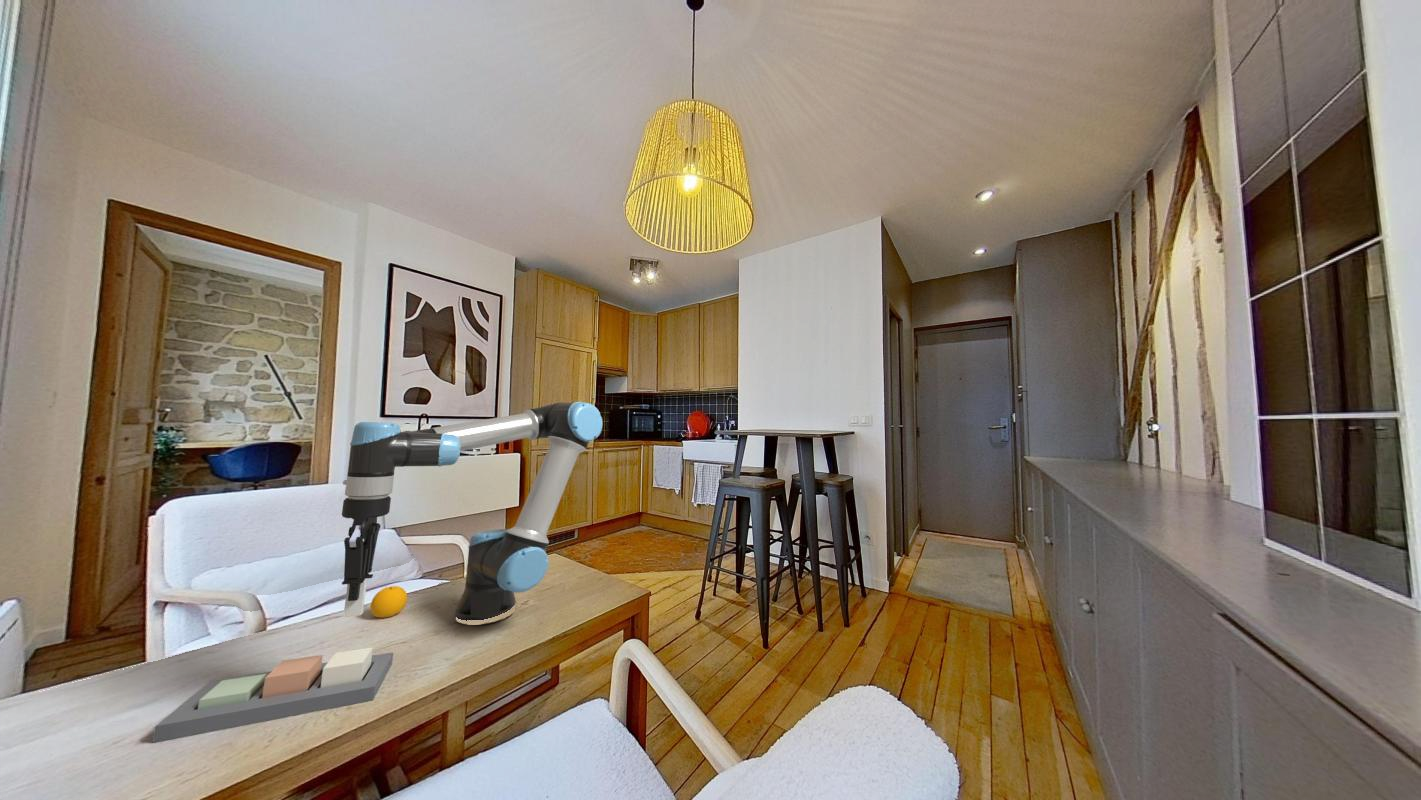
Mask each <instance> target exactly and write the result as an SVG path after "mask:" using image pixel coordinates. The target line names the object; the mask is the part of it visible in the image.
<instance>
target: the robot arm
mask: <svg viewBox="0 0 1421 800" xmlns="http://www.w3.org/2000/svg"><path fill="white" fill-rule="evenodd" d="M400 427H401V426H400V425H399V424H398V423H395V422H394V423H393V422H372V421H360V422H358V423H357V424H355V425H354V428H353V431H352V432H353V433H352V437H351V441H350V443H349V444H350V449H349V459H348V464H347V465H348V466H347V474H346V476H347V477H346V479H345V480H343V482H342V484H343V485H344V486H345V490H344V496H346V497H345V499H344V500H343V502H342V509H341V516H342V518H344V519H352V520H353V521H352V524H351V526H349V528H348V534H347V535H348V537H345V539H344V540H343V544H344V549H345V551H344V567H343V568H344V571H343V581H342V582H341V585H343V586H344V585H347V586H346V594H345V602H344V611H343V618H348V617H349V618H350V617H358V616H361V615H362V614H364V607H365V599H366V594H367V593H366V591H367V583H368V579H372V578H373V577H374V573H371V572H372V571H373V564H374V557H375V553H376V547H377V542H378V537H379V532H380V529H381V527H382V526H381V523H379V522H378V518H380V517H384V516H387V515H388V514H389V513H390V509H391V500H392V498H391V496H389V495H391V494H392V493H393V488H394V478H395V468H396V467H398V468H400V467H402V468H403V467H440V468H441V467H443V466H453V465H455V464H456V463H457V461H458V460H459V458H460V455H461V452H463V451H469V450H474V449H479V448H483V447H489V446H493V445H497V444H498V445H499V444H503V443H508V442H513V441H517V440H522V439H528V440H529V441H530V440H531V441H534V440H538V439H547V441H548V443H549V447H548V449H547V452H546V454H545V457H544V459H543V461H542V463H541V465H540V468H539V471H538V472H537V474H536V477H535V479H534V481H533V484H532V486H531V488H530V491H529V493H528V496H527V497H526V500H525V502H524V505H523V507H522V509H521V511H520V513H519V516H518V518H517V521H516V523H515V524H514V526H513V527H511V528H502V529H499V528H498V529H493V530H492V529H491V530H483V531H479V532H476V533H474V534H473V535H471V536H470V539H469V545H468V555H467V566H466V567H467V568H466V578H465V587H464V591H463V592H462V595H461V596H460V600H459V601H458V604H457V606H456V609H455V614H454V617H455V616H456V617H457V618H458V619H461V620H466V621H467V620H484V619H488V618H492V617H495V616H498V615H500V614H502V613H505V612H507V611H508V610H510V609H511V608H512V607H513V606H514V605H515V603H516V604H517V600H516V596H515V593H516V594H517V593H519V594H520V593H524V592H527V591H529V590H531V589H533V587H535V586H537V585H538V584H539V583H540V582H542V580H543V579H544V577H545V575H546V574H547V572H548V568H549V563H550V562H549V561H550V560H549V559H548V558H549V557H548V554H547V552H546V551H547V549H548V546H549V543H550V540H549V539H548V535H547V534H548V532H549V528H550V526H551V524H552V522H553V519H554V516H555V515H556V511H557V509H558V506H559V504H560V501H561V498H562V496H563V494H564V491H565V489H566V486H567V484H568V481H569V479H570V477H571V474H572V472H573V469H574V466H575V464H576V461H577V460H578V457H579V455H580V454H582V453H584V452H586V451H587V449H588V446H589V443H591V441H594V440H596V439H597V438H598V437H599V436H600V435H601V433H602V431H603V417H602V416H601V412H600V411H599V409H598V408H597V407H596V406H595V405H593V404H591V403H590V402H589V403H588V402H583V401H576V402H555V403H551V404H547V405H544V406H539V407H535V408H529V409H525V410H524V411H523V412H522V413H519V414H513V415H512V414H511V415H506V416H500V417H499V416H498V417H493V418H486V419H482V420H473V421H467V422H461V423H456V424H448V425H443V426H435V427H431V428H424V429H419V430H413V431H412V430H404V431H401V430H400ZM370 573H371V574H370Z"/></svg>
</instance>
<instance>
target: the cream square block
mask: <svg viewBox="0 0 1421 800" xmlns="http://www.w3.org/2000/svg"><path fill="white" fill-rule="evenodd" d="M373 650H374V647H367V648H361V649H359V648H358V649H354V650H353V649H352V650H346V651H345V650H344V651H339V652H335V653H334V655H333V656H332V657H331V658H330V659H329V661H328V663H327V662H326V663H327V664H326V666H325V667H324V668H323V673H322V681H321V688H323V687H329V686H335V685H340V684H346V683H352V682H358V681H363V680H364V678H365V676H364V675H365V674H366V672H367V670H368V669H369V667H370V665H371V659H372V655H373Z"/></svg>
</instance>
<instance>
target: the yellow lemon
mask: <svg viewBox="0 0 1421 800" xmlns="http://www.w3.org/2000/svg"><path fill="white" fill-rule="evenodd" d="M407 602H408V593H407V592H406V590H405V589H404V588H403V587H401V586H398V585H397V586H396V585H392V586H386V587H385V588H382V589H381V590H379V591H378V592H377V593H376V594H375V595H374V597H373V598H372V599H371V603H370V611H371V613H372V615H373V616H375V617H377V618H382V619H383V618H391V617H393V616H395V614H396V615H397V613H398V614H399V613H400V612H401V611H403V610H404V609H405V607H406V605H407Z"/></svg>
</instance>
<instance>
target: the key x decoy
mask: <svg viewBox="0 0 1421 800" xmlns="http://www.w3.org/2000/svg"><path fill="white" fill-rule="evenodd" d="M323 656H324V654H320V655H319V654H318V655H313V656H306V657H299V658H291V659H285V660H281V661H280V662H279V663H278V664H277V665H276V666H275V667H274V668H273V669H272V670H271V671H272V672H271V673H270V674H269V675H268V676H267V677H266V678H265V682H264V689H263V695H262V698H266V697H272V696H277V695H283V694H289V693H295V692H300V691H306V690H309V689H310V688H311V687H312V685H311V684H312V683H313V682H314V681H315V679H316V678H317V677H318V676H319V674H320V673H321V665H322V663H323Z"/></svg>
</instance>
